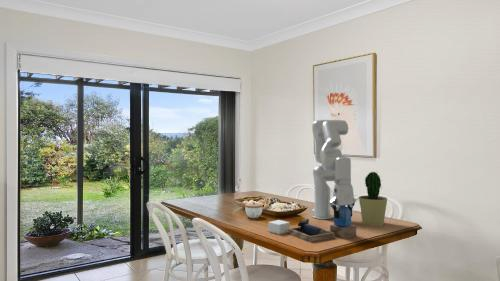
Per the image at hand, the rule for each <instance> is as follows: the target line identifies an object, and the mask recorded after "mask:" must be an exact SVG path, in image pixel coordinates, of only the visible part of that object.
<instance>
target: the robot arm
mask: <svg viewBox="0 0 500 281" xmlns="http://www.w3.org/2000/svg"><path fill="white" fill-rule="evenodd" d="M311 128H312V134H313V137H314V142H315V146H314V147H315V154H314V155H315V161H316V163H318V164H321V165H318V166H315V167H314V168H313V170H312V176H313V182H314V184H313V186H314V208H313V209H311V212H313V214H311V216H312V218H313V219H317V220H330V219H334V218H337V219H339V210H338V209H339V207H340V206H345V205H346V207H348V208H349V209H350V211H351V218H352V217H353V209H354V206H355V205H356V204H355V203H356V202H357V199H356V198H355V196H354V187H353V185H352V160H351V158H350V157H348V156H345V155H342V151H341V149H340V148H339V147H340V146H341V143H342V139H341V136H345V135H347V134H348V132H349V125H348V123H347V121H346V120H342V119H318V120H315V121H313V122H312V125H311ZM327 182H334V185H333V186H334V187H333V192H332V193H333V194H332V199H331V188H330V186H329V184H328V183H327ZM331 209H332V210H333V214H331Z"/></svg>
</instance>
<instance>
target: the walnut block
mask: <svg viewBox="0 0 500 281" xmlns="http://www.w3.org/2000/svg"><path fill="white" fill-rule="evenodd" d="M329 229H330V230H329V231H331V232H334V233H335V238H339V239H343V240H347V239H350V238H354V237H356V236H357V225H355V224H350V225H348V226H339V225H334V224H330V225H329Z"/></svg>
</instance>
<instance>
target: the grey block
mask: <svg viewBox="0 0 500 281" xmlns="http://www.w3.org/2000/svg"><path fill="white" fill-rule="evenodd" d="M289 228H291V222H289V221H286V220H281V219H276V220H272V221H268V222H267V232H270V233H273V234H277V235H283V234H285V233H288V229H289Z"/></svg>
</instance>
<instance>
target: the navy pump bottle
mask: <svg viewBox="0 0 500 281" xmlns="http://www.w3.org/2000/svg"><path fill="white" fill-rule="evenodd" d="M309 222H310V218H307V219H305V220H302V221H301V220H299V221H298V223H297V227H300V229H299V230H298V231H299V232H301V233H304V234H308V235H311V236H314V235H320V234H323V230H322V229H323V228H322V227H320V226H316V225H313V224H309Z"/></svg>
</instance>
